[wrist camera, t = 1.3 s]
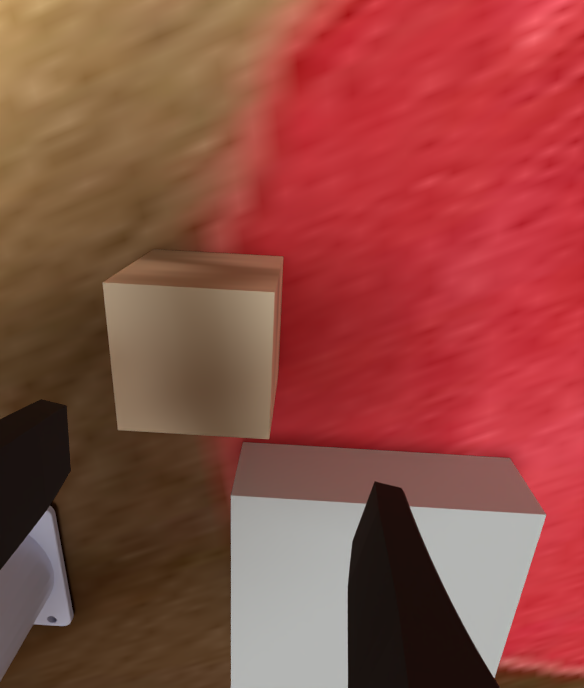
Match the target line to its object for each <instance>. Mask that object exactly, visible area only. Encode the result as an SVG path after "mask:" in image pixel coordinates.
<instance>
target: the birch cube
mask: <svg viewBox="0 0 584 688" xmlns="http://www.w3.org/2000/svg"><path fill="white" fill-rule="evenodd" d="M282 278H283V256H267V255H249V254H231V253H214V252H196V251H178V250H160V249H153V250H152V251H150V252H148V253H147V254H145V255H144V256H142V257H141V258H139V259H138V260H136V261H135V262H133V263H132V264H130V265H129V266H127V267H125V268H124V269H122V270H121V271H119V272H118V273H116V274H115V275H113V276H112V277H110V278H109V279H107V280H106V281H104V282H103V291H104V301H105V311H106V320H107V330H108V339H109V349H110V359H111V368H112V378H113V388H114V397H115V407H116V417H117V426H118V430H126V431H142V432H159V433H175V434H191V435H207V436H224V437H240V438H256V439H269V438H270V430H271V423H272V416H273V409H274V402H275V395H276V387H277V380H278V372H279V348H280V325H281V301H282Z"/></svg>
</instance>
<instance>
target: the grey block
mask: <svg viewBox="0 0 584 688" xmlns="http://www.w3.org/2000/svg"><path fill="white" fill-rule="evenodd" d="M374 481H376V482H380V483H384V484H388V485H392V486H396V487H400V488H402V489H403V491H404V493H405V495H406V498H407V501H408V503H409V506H410V509H411V511H412V514H413V517H414V519H415V522H416V524H417V527H418V529H419V532H420V534H421V536H422V539H423V541H424V544H425V546H426V548H427V550H428V553H429V555H430V557H431V560H432V562H433V564H434V566H435V568H436V570H437V572H438V575H439V577H440V579H441V581H442V583H443V585H444V588H445V590H446V592H447V594H448V596H449V598H450V600H451V602H452V604H453V606H454V608H455V609H456V611H457V613H458V615H459V617H460V619H461V621H462V623H463V625H464V627H465V629H466V630H467V632H468V634H469V636H470V638H471V639H472V641H473V643H474V645H475V647H476V648H477V650H478V652H479V654H480V655H481V657H482V659H483V661H484V662H485V664H486V665H487V667H488V669H489V670H490V672H491V674H492V675H493V677H495V674H496V671H497V668H498V665H499V662H500V659H501V655H502V652H503V649H504V646H505V643H506V640H507V637H508V633H509V630H510V627H511V624H512V621H513V618H514V615H515V612H516V608H517V605H518V602H519V599H520V596H521V593H522V590H523V586H524V583H525V580H526V577H527V574H528V571H529V568H530V564H531V561H532V558H533V555H534V552H535V549H536V546H537V543H538V539H539V536H540V533H541V530H542V527H543V524H544V521H545V517H546V513H545V512H544V510H543V509H542V507H541V506H540V504H539V503H538V501H537V499H536V498H535V496H534V495H533V493H532V492H531V490H530V489H529V487H528V485H527V484H526V482H525V481H524V479H523V478H522V476H521V475H520V473H519V471H518V470H517V468H516V467H515V465H514V464H513V462H512V461H511V459H510V458H502V457H485V456H468V455H452V454H435V453H418V452H402V451H385V450H368V449H352V448H335V447H318V446H302V445H285V444H268V443H252V442H243V444H242V448H241V453H240V457H239V462H238V466H237V471H236V475H235V480H234V484H233V489H232V493H231V688H348V578H349V567H350V558H351V549H352V541H353V538H354V535H355V533H356V530H357V527H358V525H359V522H360V519H361V517H362V514H363V511H364V508H365V506H366V503H367V500H368V498H369V495H370V492H371V490H372V487H373V484H374Z"/></svg>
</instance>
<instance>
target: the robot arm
mask: <svg viewBox="0 0 584 688" xmlns="http://www.w3.org/2000/svg"><path fill="white" fill-rule="evenodd" d="M70 471H71V468H70V453H69V437H68V422H67V406H66V405H62V404H58V403H54V402H50V401H46V400H42V399H41V400H39V401H37V402H35V403H33V404H30V405H28V406H26V407H24V408H22V409H20V410H18V411H16V412H14V413H12V414H10V415H8V416H6V417H4V418H2V419H0V681H1V679H2V678H3V676H4V674H5V672H6V671H7V669H8V667H9V666H10V664H11V662H12V660H13V659H14V657H15V655H16V653H17V652H18V650H19V648H20V646H21V645H22V643H23V641H24V640H25V638H26V636H27V634H28V633H29V631H30V629H31V627H32V626H33V624H38V625H53V626H67V625H69V624H70V623H71V621H72V619H73V609H72V604H71V598H70V592H69V587H68V581H67V575H66V570H65V564H64V559H63V553H62V547H61V542H60V536H59V530H58V525H57V519H56V514H55V511H54V509H53V508H52V507H51V506H50V504H51V503H52V501H53V500H54V498H55V496H56V495H57V493H58V492H59V490H60V488H61V486H62V485H63V483H64V481H65V479H66V478H67V476H68V474H69V473H70ZM348 688H500V687H499V685H498V684H497V682H496V680H495V679H494V677H493V675H492V674H491V672H490V670H489V669H488V667H487V665H486V664H485V662H484V661H483V659H482V657H481V655H480V654H479V652H478V650H477V648H476V647H475V645H474V643H473V641H472V639H471V638H470V636H469V634H468V632H467V630H466V629H465V627H464V625H463V623H462V621H461V619H460V617H459V615H458V613H457V611H456V609H455V608H454V606H453V604H452V602H451V600H450V598H449V596H448V594H447V592H446V590H445V588H444V585H443V583H442V581H441V579H440V577H439V575H438V572H437V570H436V568H435V566H434V564H433V562H432V560H431V557H430V555H429V553H428V550H427V548H426V546H425V544H424V541H423V539H422V536H421V534H420V532H419V529H418V527H417V524H416V522H415V519H414V517H413V514H412V511H411V509H410V506H409V503H408V501H407V498H406V495H405V493H404V491H403V489H402V488H400V487H396V486H392V485H388V484H384V483H380V482H376V481H374V484H373V487H372V490H371V492H370V495H369V498H368V500H367V503H366V506H365V508H364V511H363V514H362V517H361V519H360V522H359V525H358V527H357V530H356V533H355V535H354V538H353V541H352V549H351V558H350V567H349V578H348Z"/></svg>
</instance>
